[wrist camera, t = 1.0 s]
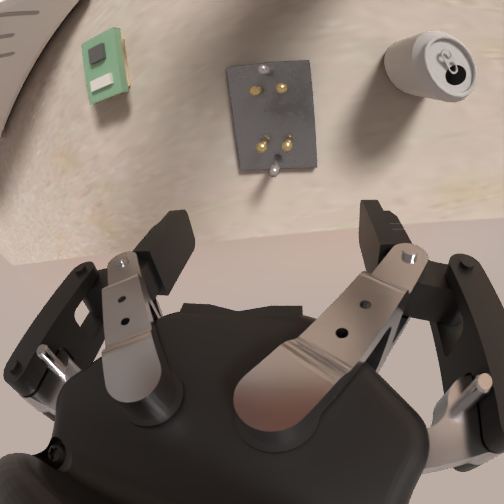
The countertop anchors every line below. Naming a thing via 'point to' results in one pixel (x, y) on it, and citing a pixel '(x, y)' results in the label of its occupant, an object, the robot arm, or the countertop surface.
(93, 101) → the board
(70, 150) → the countertop surface
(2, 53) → the toaster
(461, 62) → the can
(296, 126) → the chassis
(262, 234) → the countertop surface
